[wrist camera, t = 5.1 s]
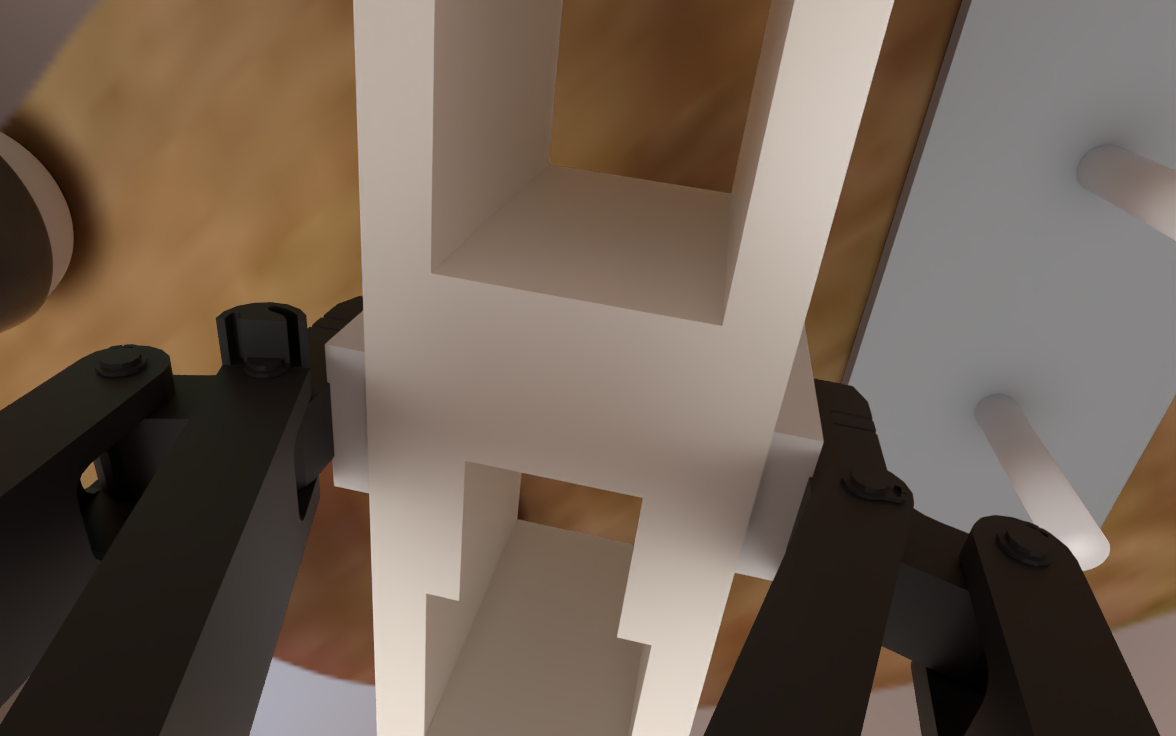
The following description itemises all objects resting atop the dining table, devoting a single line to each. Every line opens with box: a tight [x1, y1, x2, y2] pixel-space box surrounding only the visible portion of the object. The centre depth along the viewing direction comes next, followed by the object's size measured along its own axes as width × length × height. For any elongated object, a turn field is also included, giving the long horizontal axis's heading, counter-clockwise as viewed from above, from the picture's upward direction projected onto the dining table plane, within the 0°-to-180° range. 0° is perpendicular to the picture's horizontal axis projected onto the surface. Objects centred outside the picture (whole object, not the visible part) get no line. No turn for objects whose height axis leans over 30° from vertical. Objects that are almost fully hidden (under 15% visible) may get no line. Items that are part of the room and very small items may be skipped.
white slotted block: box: [353, 0, 894, 736], centre depth 14 cm, size 22×6×7 cm, turn 173°
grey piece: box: [841, 0, 1176, 571], centre depth 25 cm, size 24×12×10 cm, turn 173°
